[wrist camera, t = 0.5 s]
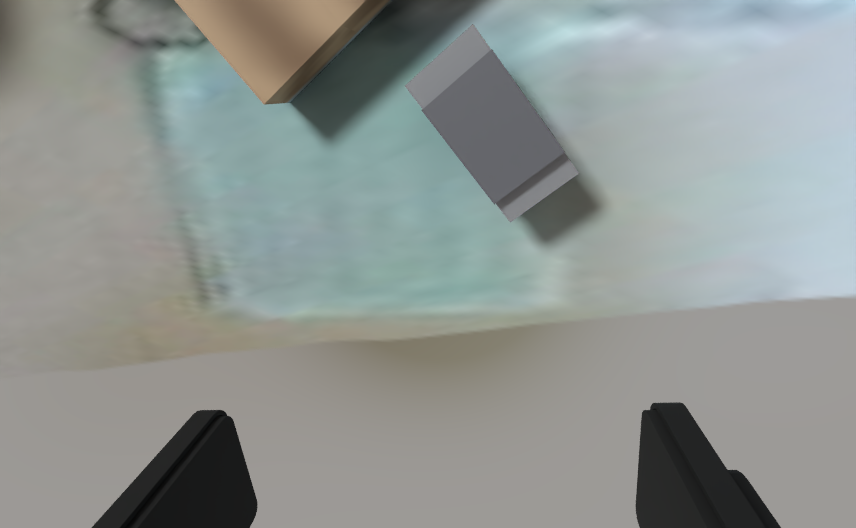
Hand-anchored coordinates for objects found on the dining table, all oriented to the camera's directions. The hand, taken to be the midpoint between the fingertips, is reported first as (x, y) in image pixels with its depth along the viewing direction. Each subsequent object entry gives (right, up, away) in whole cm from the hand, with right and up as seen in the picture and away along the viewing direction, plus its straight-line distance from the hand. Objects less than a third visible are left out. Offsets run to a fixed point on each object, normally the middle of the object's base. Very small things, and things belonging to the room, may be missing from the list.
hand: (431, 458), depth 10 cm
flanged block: (+4, +14, +21) cm, 25 cm away
